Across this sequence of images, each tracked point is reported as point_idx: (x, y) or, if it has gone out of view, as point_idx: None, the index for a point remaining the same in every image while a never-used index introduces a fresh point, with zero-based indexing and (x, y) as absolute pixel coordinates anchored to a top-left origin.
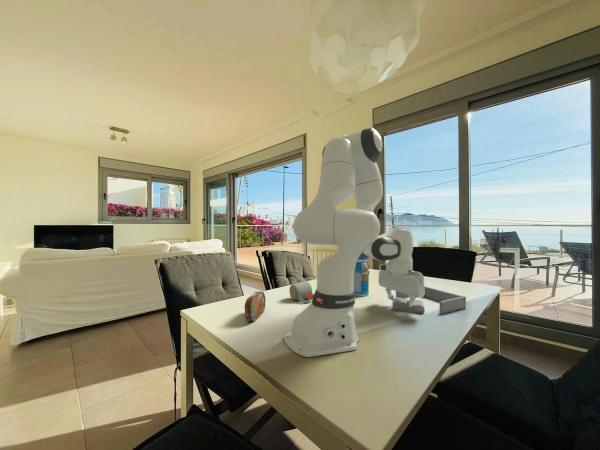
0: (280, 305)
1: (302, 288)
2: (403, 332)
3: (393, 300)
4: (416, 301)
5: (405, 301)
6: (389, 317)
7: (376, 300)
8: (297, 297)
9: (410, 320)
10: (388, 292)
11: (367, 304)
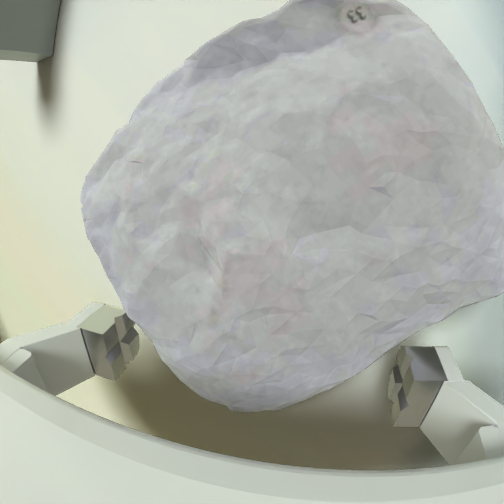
0: None
1: None
2: None
3: (204, 397)
4: (415, 157)
5: (330, 350)
6: (338, 467)
7: (30, 264)
8: None
9: None
10: (63, 383)
11: (90, 382)
